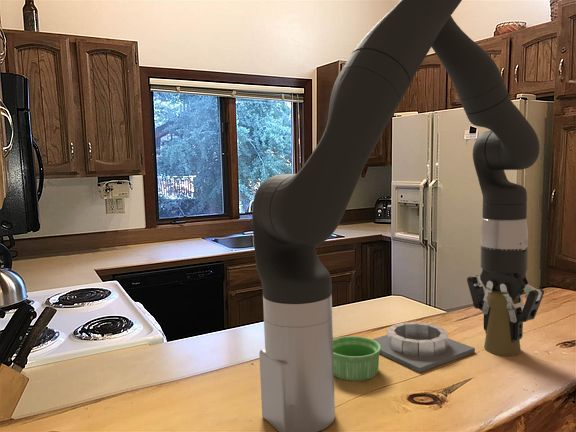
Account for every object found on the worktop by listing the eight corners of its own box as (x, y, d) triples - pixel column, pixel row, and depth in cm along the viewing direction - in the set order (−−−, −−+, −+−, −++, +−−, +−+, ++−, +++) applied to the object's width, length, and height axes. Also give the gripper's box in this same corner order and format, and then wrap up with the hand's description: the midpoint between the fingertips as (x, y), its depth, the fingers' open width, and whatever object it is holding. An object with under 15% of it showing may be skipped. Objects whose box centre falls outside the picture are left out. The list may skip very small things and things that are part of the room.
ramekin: (326, 383, 74) (325, 356, 73) (327, 359, 83) (326, 335, 82) (383, 384, 73) (383, 357, 72) (378, 360, 82) (378, 336, 81)
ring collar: (418, 361, 78) (418, 347, 78) (376, 342, 87) (376, 329, 87) (459, 347, 84) (459, 333, 83) (416, 330, 92) (415, 318, 92)
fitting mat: (419, 372, 76) (419, 368, 76) (363, 346, 88) (362, 341, 88) (474, 352, 83) (474, 347, 83) (415, 330, 95) (415, 326, 95)
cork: (513, 342, 87) (514, 285, 85) (526, 356, 81) (527, 294, 79) (479, 342, 87) (480, 285, 86) (490, 356, 81) (491, 294, 80)
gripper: (456, 241, 86) (455, 330, 88) (530, 251, 74) (528, 355, 76) (481, 236, 90) (481, 322, 92) (556, 246, 78) (553, 345, 80)
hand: (502, 337), depth 84 cm, fingers closed on cork, 4 cm apart
